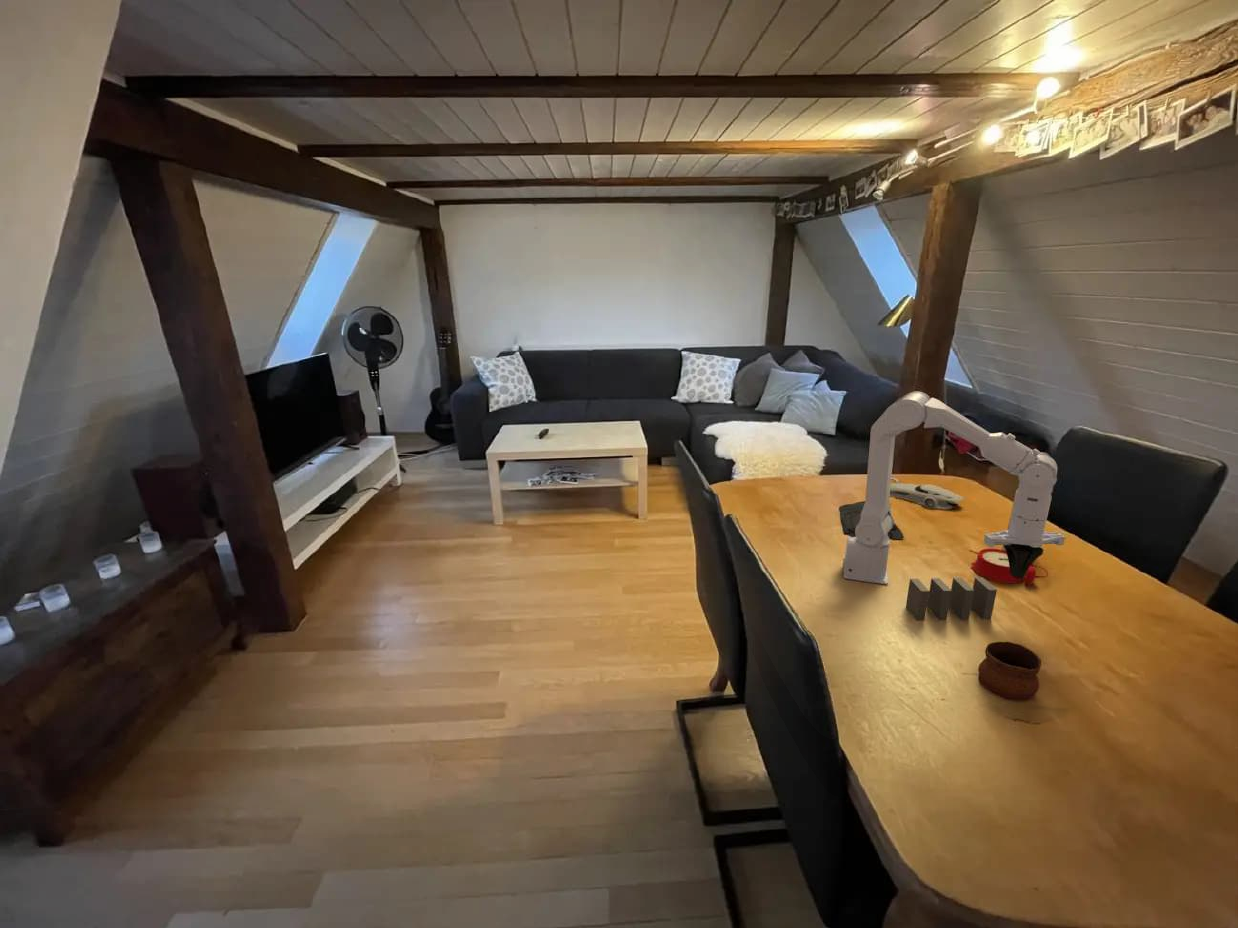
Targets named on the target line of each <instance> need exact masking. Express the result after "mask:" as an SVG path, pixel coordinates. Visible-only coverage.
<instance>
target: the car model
mask: <svg viewBox="0 0 1238 928" xmlns="http://www.w3.org/2000/svg"><path fill="white" fill-rule="evenodd" d="M891 481H894V482H895V483H892V482H891V487H890V497H891V498H896V499H900V500H904V501H908V502H912V503H915V504H918V505H920V506H923V507H925V508H929V509H936V510H946V511H947V510H951V509H953V508H954V505H958V504H959V502H962V501H963V500H964V497H963V496H961V495H960V494H957V493H955V492H953V491H950V490H948V489H947V488H945V487H940V486H937V485H934V484H930V483H928V484H920V485H919V484H913V483H904V482H899V480H898V478H896V477H894V476H893V477H892V476H891ZM890 497H889V498H890ZM952 505H953V506H952Z"/></svg>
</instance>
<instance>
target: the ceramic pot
mask: <svg viewBox="0 0 1238 928" xmlns="http://www.w3.org/2000/svg"><path fill="white" fill-rule="evenodd" d="M984 654H985V658H984V659H983V660H982V661H981V662H980V663H979V666H978V667H977V668H978V669H977V671H978V683H979V684H980V685H981V686H982V687H983V688H984V689H986V690H987V691H988V692H989V693H991V694H992V695H994V696H997V697H998V698H1001V699H1004V700H1007V701H1013V702H1024V701H1027V700H1030V699H1032V698H1033V697H1034V696H1036V694H1037V693H1038V691H1039V690H1040V689H1039V688H1040V681H1039V677H1038V673H1039V672H1040V670H1041V667H1042V660H1041V658H1040V657H1039V656H1038V654H1037V653H1035V651H1034V650H1031V649H1030V648H1028V647H1026V646H1024V645H1022V644H1020V643H1015V642H1012V641H994V642H990V643H989V644H987V645H986V647H985V650H984ZM1005 718H1006V719H1009V720H1011V721H1014V722H1023V723H1026V724H1030V725H1041V724H1040V723H1039V722H1037V723H1036V722H1035V723H1034V722H1033V723H1030V721H1029V720H1024V719H1021V718H1017V717H1015V718H1010V717H1007V716H1005Z"/></svg>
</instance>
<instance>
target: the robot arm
mask: <svg viewBox="0 0 1238 928" xmlns="http://www.w3.org/2000/svg"><path fill="white" fill-rule="evenodd" d="M922 423H924V425H923V428H924V429H930V428H943V429H945V430H947V431H949V432H950V433H953V434H954V435H956V436H958V437H960V438H962V439H964V440H965V441H966V442H969V443H971V444H973V445H974V446H976V447H978V448H979V450H980V454H981V457H982V458H985V459H986V460H988V461H989V462H991V463H992V464H993V465H996V466H998V467H999V468H1001V469H1003V470H1005V471H1006V472H1007V473H1009V474H1011V475H1013V476H1014V475H1015V476H1017V477H1018V481H1019V484H1018V488H1017V489H1016V490H1015V495H1014V498H1015V499H1013V502H1014V504H1013V503H1012V507H1013V509H1012V508H1011V511H1012V514H1011V513H1010V517H1011V519H1010V518H1009V521H1010V524H1009V523H1008V525H1009V529H1008V528H1007V529H1008V530H1007V529H1006V530H1003V531H997V532H992V533H985V534H984V539H983V543H984V544H985V545H986V546H987V547H989V548H993V547H995V546H1004V548H1005V551H1006V553H1007V556H1008V561H1009V568H1010V574H1011V575H1012V576H1013V577H1014V578H1016V579H1018V578H1023V576H1024V575H1025V576H1026V572H1027V570H1028V568H1029V567H1030V565H1031V564H1032V563H1033V564H1034V562H1035V561H1036V560H1037V559H1039V558H1040V557H1041V556H1042V555H1043V554H1044V549H1043V545H1056V546H1064V543H1065V538H1066V536H1065V535H1063V534H1062V533H1060V532H1053V531H1052V532H1051V531H1045V528H1046V525H1047V519H1048V515H1049V511H1050V507H1051V501H1052V497H1053V496H1052V494H1053V490H1054V486H1055V485H1056V483H1057V481H1058V478H1057V476H1058V464H1057V462H1056V460H1055V459H1054V458H1052V457H1051V455H1049V454H1048V453H1047V452H1040V451H1039V450H1038V449H1037V448H1034V449H1031V448H1030V447H1028V446H1027V445H1024V444H1023V443H1021V442H1019V441H1018V440H1016V436H1015V434H1012V433H1008V434H1005V433H1004V432H995V433H994V432H993V433H992V432H991V433H990V432H989V431H987V430H986V429H984V428H983V427H981V426H980V425H978V424H976V423H975V422H974V421H972V420H970V419H968V418H967V417H965V416H964V415H962V414H961V413H959V412H958V411H956V410H955V409H953V408H951V407H950V406H948V405H947V404H945V403H943V402H942V401H941V400H939V399H938V398H934V397H930V396H929V395H928V394H926V393H925V392H922V391H912V392H909V393H907V394H905V395H904V396H901V397H900V398H899V399H897V400H895V402H894V403H893V404H891V405H890V406H888V407H887V408H886V409H885V410H884V412H883V413H882V414H881V415H880V416H879V418H878V419H877V420H876V421H875V422H874V423H873V424H872V425H871V428H870V438H869V447H868V448H869V449H868V451H869V452H868V462H867V471H866V472H867V474H866V488H865V498H864V499H865V500H864V501H865V504H864V507H863V510H862V513H861V518H860V522H859V523H858V525H857V526H856V528H855V535H856V537H850V536H847V537H846V543H845V544H846V545H845V555H844V558H843V561H842V567H843V578H844V579H847V580H853V581H861V582H867V583H874V584H882V585H888V584H889V577H888V570H887V569H888V567H887V566H888V561H889V560H888V559H889V552H890V547H891V546H890V545H891V540H890V539H889V537H888V534H887V533H888V532H889V531H890V530H891V529H892V527H893V525H894V523H895V520H894V516H893V514H892V505H891V503H890V487H891V484H892V480H891V477H892V476H893V475H892V474H893V463H894V455H895V454H894V453H895V441H896V436H898V435H900V434H901V433H902V432H905V431H908V430H909V431H910V430H912V429H915V428H917V427H918V426H920V425H921V424H922Z"/></svg>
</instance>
